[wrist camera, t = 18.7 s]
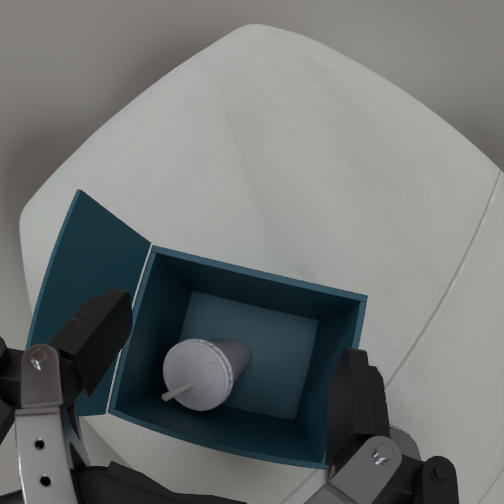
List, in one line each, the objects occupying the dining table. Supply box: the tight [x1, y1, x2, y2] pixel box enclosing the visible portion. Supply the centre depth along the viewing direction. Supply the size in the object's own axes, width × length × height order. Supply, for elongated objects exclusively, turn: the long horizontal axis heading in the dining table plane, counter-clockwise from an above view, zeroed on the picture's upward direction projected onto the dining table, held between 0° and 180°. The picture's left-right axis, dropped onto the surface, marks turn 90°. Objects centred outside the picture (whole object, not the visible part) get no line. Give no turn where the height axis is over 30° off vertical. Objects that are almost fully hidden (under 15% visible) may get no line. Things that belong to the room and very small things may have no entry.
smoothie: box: [162, 338, 251, 411], centre depth 28 cm, size 6×6×14 cm
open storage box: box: [108, 245, 368, 469], centre depth 28 cm, size 16×13×16 cm
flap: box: [25, 190, 151, 416], centre depth 17 cm, size 8×13×1 cm
